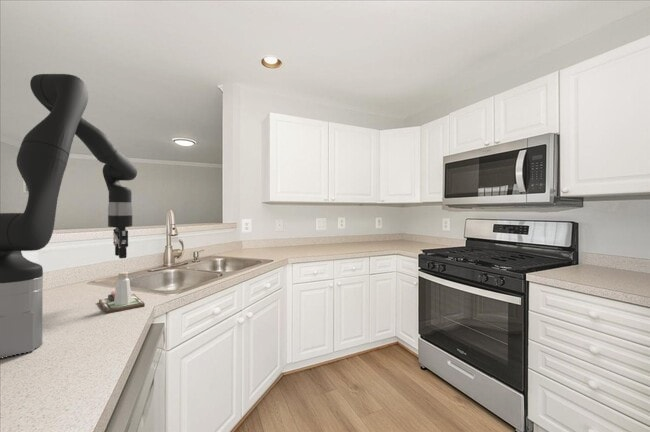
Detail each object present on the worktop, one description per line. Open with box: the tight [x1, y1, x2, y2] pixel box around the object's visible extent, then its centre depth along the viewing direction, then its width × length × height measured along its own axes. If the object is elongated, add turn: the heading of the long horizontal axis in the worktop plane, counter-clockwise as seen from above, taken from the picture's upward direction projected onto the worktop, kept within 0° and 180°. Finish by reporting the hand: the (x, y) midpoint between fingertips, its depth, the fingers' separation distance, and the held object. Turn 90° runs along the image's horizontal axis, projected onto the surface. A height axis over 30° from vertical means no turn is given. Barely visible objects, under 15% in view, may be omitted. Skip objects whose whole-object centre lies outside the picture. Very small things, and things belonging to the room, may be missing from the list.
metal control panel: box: [98, 293, 146, 315], centre depth 103 cm, size 17×11×2 cm, turn 45°
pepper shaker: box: [114, 271, 132, 305], centre depth 100 cm, size 5×5×11 cm
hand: (120, 256), depth 106 cm, fingers open, 8 cm apart
